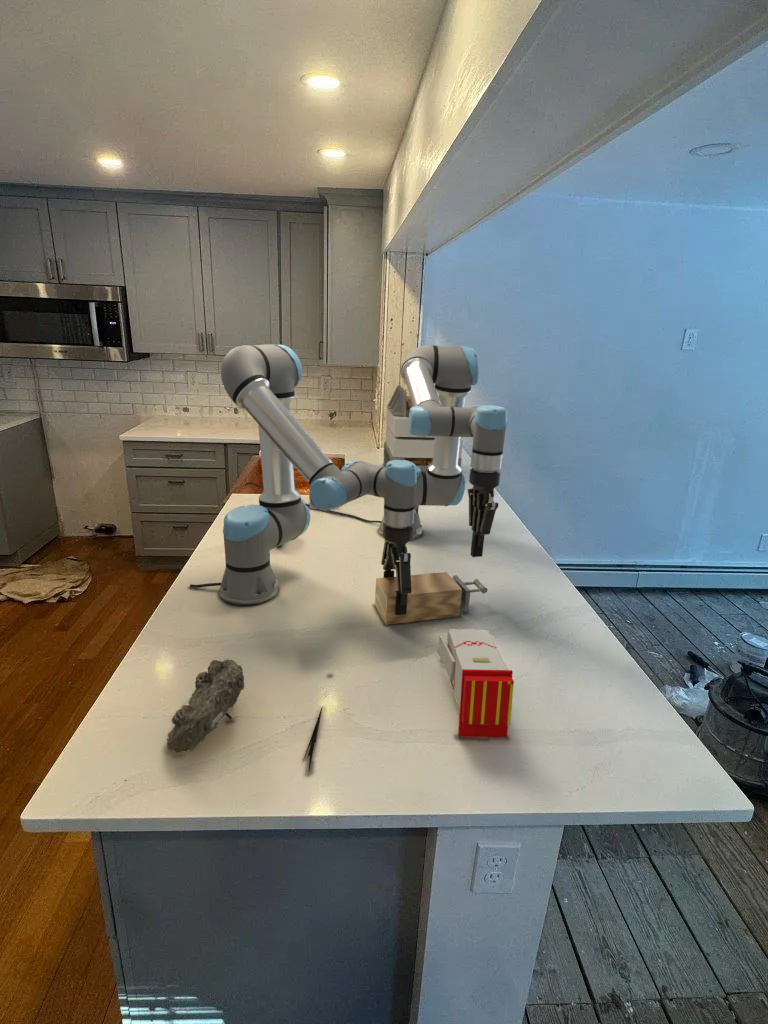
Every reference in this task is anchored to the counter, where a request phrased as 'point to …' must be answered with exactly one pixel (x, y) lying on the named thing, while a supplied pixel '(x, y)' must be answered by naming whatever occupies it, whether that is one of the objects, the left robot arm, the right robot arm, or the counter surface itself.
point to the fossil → (206, 705)
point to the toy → (478, 682)
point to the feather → (313, 740)
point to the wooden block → (419, 598)
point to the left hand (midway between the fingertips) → (394, 603)
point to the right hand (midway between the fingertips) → (476, 555)
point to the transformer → (406, 434)
